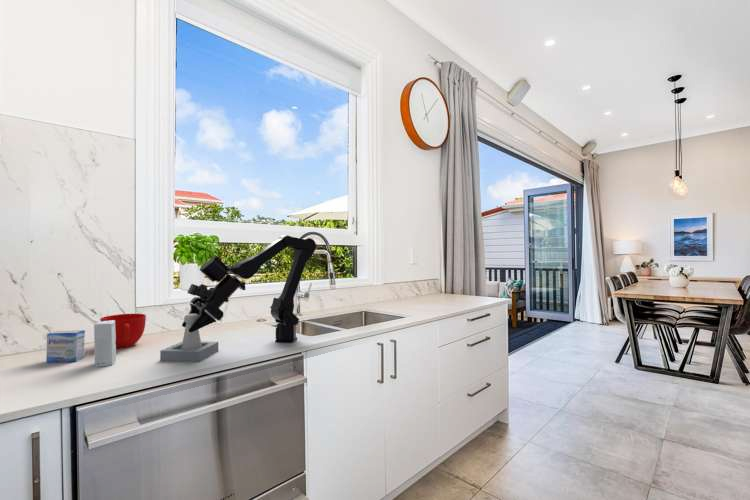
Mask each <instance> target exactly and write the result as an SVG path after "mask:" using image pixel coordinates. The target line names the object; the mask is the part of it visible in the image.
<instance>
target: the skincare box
mask: <svg viewBox="0 0 750 500" xmlns="http://www.w3.org/2000/svg"><path fill="white" fill-rule="evenodd" d="M93 327H94V328H93V330H94V331H93V334H94V335H93V336H94V337H93V338H94V339H93V342H94V344H93V345H94V346H93V347H94V367H95V368H99V367H108V366H109V367H111V366H112V365H114V364H115V362H116V361H117V348H116V331H115V320H110V321H101V320H99V321H98V322H96V323H95V324H94V325H93Z"/></svg>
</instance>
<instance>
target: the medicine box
mask: <svg viewBox="0 0 750 500" xmlns="http://www.w3.org/2000/svg"><path fill="white" fill-rule="evenodd" d="M85 337H86V330H84V329H83V330H82V329H80V330H77V329H76V330H56V331H51V332H48V333H47V334H46V352H45V353H46V357H45V358H46V361H45V362H46V363H47V364H53V363H55V364H57V363H73V362H75V363H76V362H78V361H81V360H83V359H84V358H85V345H86V344H85V343H86V342H85V341H86V339H85Z"/></svg>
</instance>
